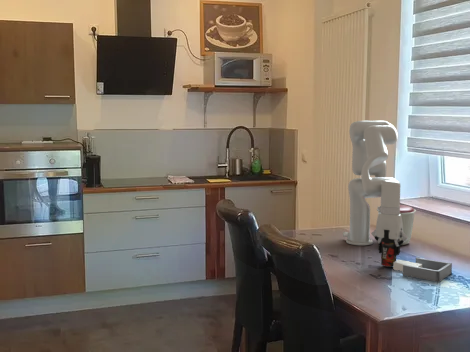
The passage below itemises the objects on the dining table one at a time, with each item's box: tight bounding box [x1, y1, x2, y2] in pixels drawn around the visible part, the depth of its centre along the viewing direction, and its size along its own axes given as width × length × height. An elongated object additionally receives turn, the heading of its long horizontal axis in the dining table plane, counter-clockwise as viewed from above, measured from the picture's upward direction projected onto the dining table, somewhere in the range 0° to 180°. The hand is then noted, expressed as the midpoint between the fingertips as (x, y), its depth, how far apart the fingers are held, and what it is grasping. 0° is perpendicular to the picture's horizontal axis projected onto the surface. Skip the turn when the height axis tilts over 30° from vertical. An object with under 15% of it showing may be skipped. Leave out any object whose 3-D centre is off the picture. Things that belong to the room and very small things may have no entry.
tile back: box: [392, 259, 410, 272], centre depth 219 cm, size 5×5×3 cm
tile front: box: [406, 261, 422, 268], centre depth 215 cm, size 5×5×3 cm
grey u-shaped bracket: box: [402, 257, 453, 283], centre depth 212 cm, size 14×14×4 cm
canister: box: [376, 204, 417, 246], centre depth 260 cm, size 18×18×21 cm
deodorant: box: [380, 230, 397, 268], centre depth 221 cm, size 6×6×15 cm
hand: (389, 253), depth 221 cm, fingers closed on deodorant, 5 cm apart
